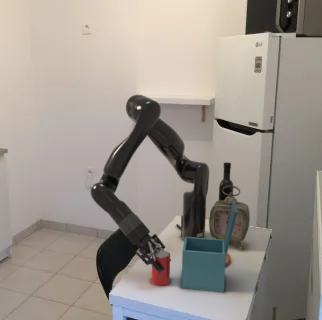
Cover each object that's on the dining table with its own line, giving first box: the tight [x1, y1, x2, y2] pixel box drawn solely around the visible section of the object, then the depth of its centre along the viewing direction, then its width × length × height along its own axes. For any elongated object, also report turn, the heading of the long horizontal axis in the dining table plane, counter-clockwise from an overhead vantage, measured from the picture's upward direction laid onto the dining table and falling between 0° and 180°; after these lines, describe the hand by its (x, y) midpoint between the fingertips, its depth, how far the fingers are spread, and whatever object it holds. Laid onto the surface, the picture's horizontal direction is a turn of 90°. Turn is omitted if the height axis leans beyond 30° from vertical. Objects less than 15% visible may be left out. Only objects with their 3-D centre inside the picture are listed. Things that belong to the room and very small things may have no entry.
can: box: [151, 249, 171, 287], centre depth 149 cm, size 6×6×10 cm
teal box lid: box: [224, 199, 237, 254], centre depth 143 cm, size 14×12×1 cm
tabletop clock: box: [208, 185, 251, 250], centre depth 174 cm, size 14×9×25 cm, turn 65°
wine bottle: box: [218, 161, 234, 201], centre depth 189 cm, size 6×6×30 cm
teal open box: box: [181, 237, 227, 293], centre depth 148 cm, size 14×12×13 cm
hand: (165, 266), depth 148 cm, fingers closed on can, 6 cm apart
